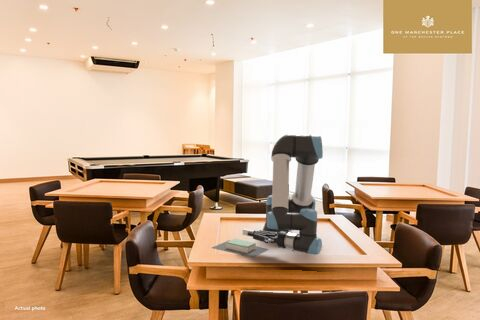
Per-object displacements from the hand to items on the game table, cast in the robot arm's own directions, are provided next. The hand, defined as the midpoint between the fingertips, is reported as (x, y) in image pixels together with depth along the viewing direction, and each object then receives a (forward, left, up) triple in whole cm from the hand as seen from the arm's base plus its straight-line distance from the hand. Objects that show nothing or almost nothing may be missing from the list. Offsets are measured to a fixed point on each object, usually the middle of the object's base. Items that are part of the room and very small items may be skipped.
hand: (243, 231), depth 182 cm
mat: (-1, -1, -9) cm, 9 cm away
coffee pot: (-39, +32, -9) cm, 51 cm away
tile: (+4, +3, -7) cm, 9 cm away
